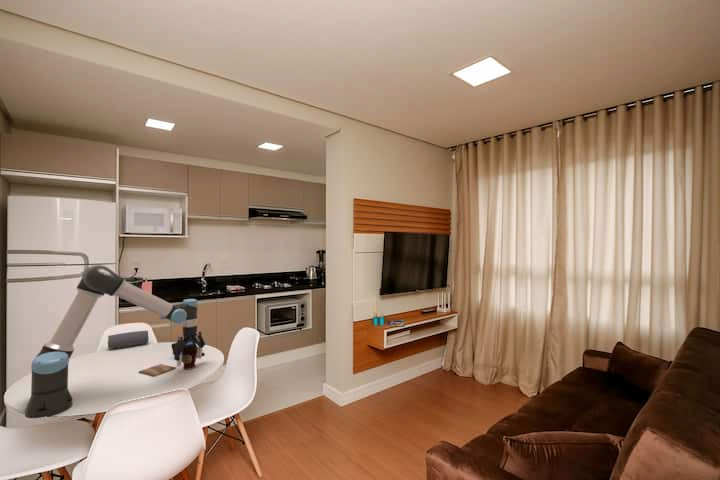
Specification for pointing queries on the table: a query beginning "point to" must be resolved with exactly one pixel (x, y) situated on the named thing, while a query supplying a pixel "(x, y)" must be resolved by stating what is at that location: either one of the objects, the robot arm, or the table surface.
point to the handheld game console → (181, 352)
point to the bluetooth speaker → (127, 339)
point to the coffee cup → (189, 356)
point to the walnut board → (157, 370)
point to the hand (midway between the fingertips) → (189, 362)
